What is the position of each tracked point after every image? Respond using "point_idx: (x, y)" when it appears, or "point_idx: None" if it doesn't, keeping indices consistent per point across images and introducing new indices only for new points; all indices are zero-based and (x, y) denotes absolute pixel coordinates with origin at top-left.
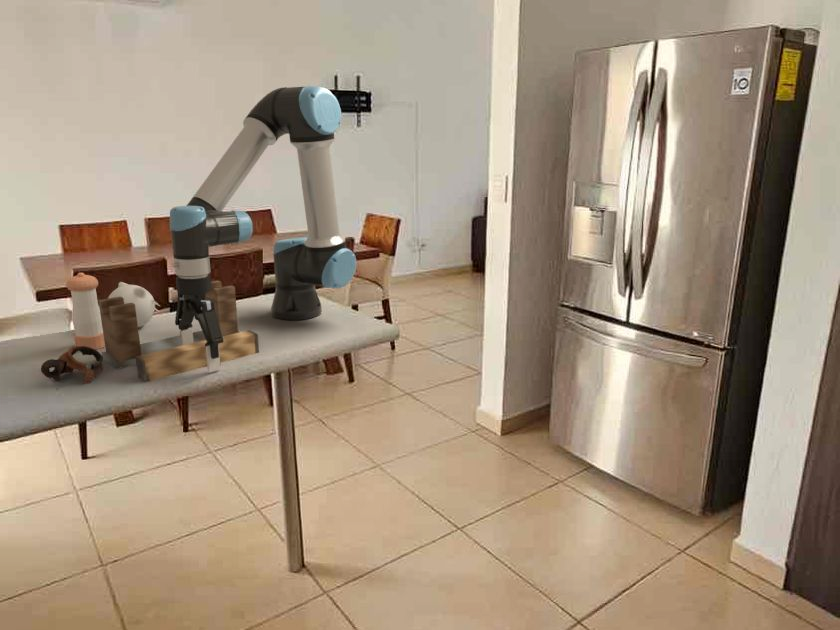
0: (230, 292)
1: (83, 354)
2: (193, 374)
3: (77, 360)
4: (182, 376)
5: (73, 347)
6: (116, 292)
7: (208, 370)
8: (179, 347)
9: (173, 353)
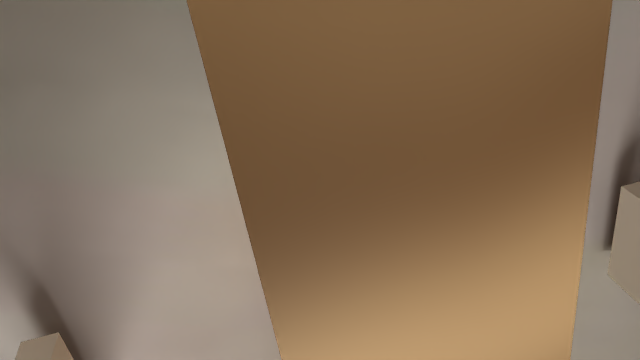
0: None
1: None
2: (100, 191)
3: None
4: (84, 70)
5: None
6: None
7: (34, 350)
8: (523, 260)
9: (241, 118)
